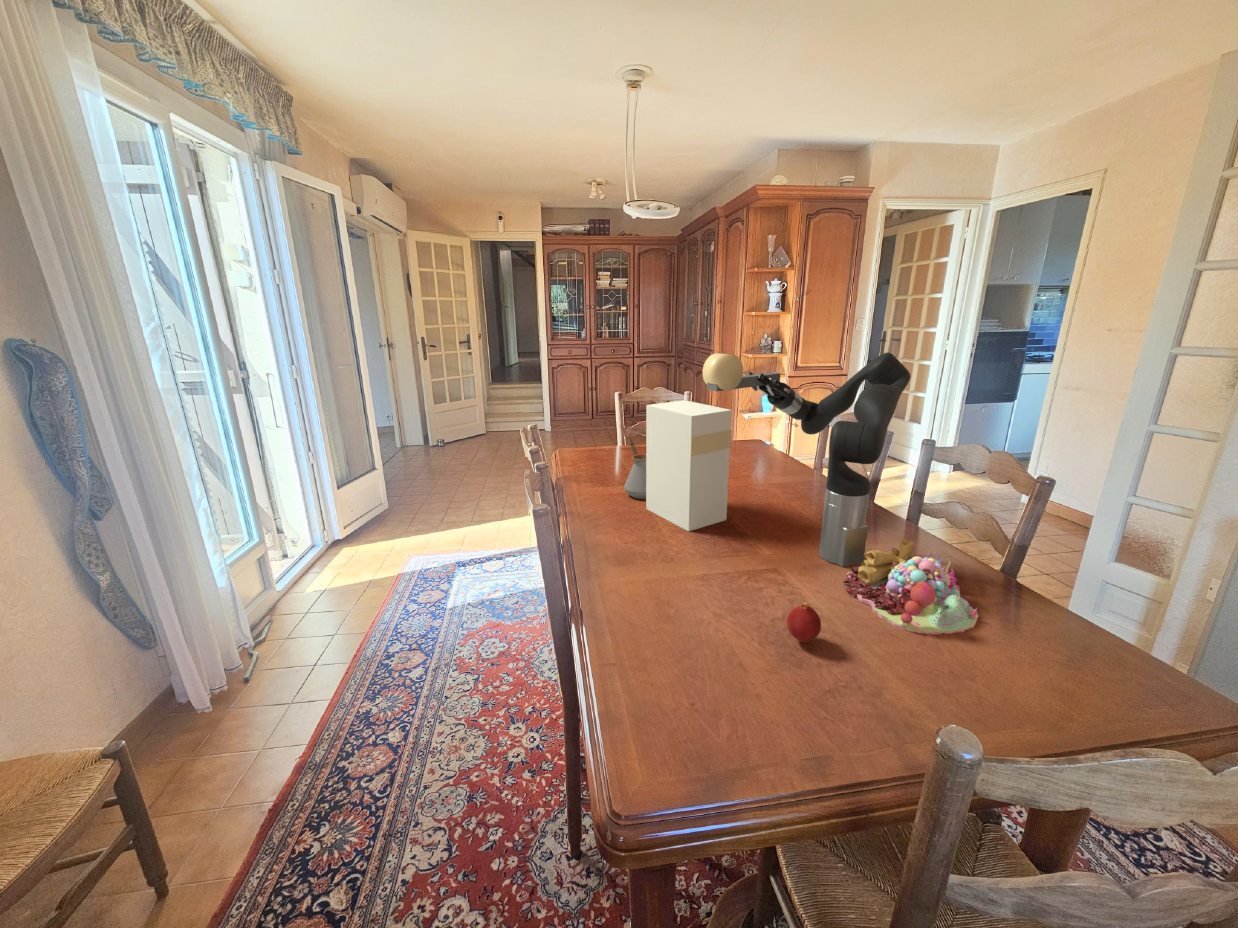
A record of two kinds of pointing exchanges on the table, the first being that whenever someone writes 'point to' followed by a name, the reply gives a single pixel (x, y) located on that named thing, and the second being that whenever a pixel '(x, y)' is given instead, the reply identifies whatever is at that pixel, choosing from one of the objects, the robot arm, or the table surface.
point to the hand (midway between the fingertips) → (753, 375)
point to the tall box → (687, 462)
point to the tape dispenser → (729, 373)
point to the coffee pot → (637, 476)
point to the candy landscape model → (911, 591)
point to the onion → (804, 623)
